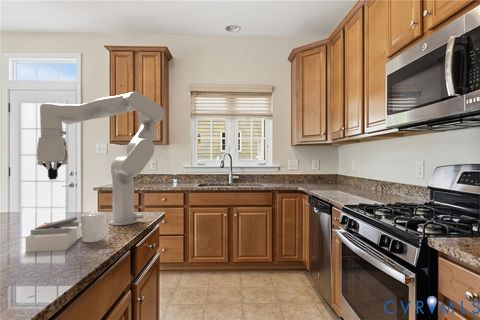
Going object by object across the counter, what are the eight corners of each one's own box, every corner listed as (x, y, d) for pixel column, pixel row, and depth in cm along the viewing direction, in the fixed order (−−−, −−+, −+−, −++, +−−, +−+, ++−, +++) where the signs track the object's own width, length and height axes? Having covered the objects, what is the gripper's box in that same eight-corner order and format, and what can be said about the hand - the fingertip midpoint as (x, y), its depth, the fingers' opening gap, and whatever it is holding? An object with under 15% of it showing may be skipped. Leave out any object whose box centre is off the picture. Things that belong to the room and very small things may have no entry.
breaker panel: (82, 236, 117) (82, 219, 117) (66, 249, 100) (65, 230, 100) (48, 237, 115) (48, 221, 115) (25, 252, 97) (25, 232, 97)
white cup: (108, 238, 114) (108, 212, 114) (92, 244, 107) (92, 216, 107) (92, 236, 117) (92, 211, 117) (75, 241, 109) (75, 214, 109)
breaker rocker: (77, 219, 111) (76, 216, 111) (71, 223, 106) (70, 219, 105) (42, 228, 109) (41, 224, 109) (35, 232, 103) (33, 228, 103)
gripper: (74, 134, 126) (76, 177, 126) (35, 134, 122) (36, 179, 123) (69, 133, 118) (70, 179, 119) (26, 133, 115) (27, 180, 115)
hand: (53, 179), depth 121 cm, fingers closed
